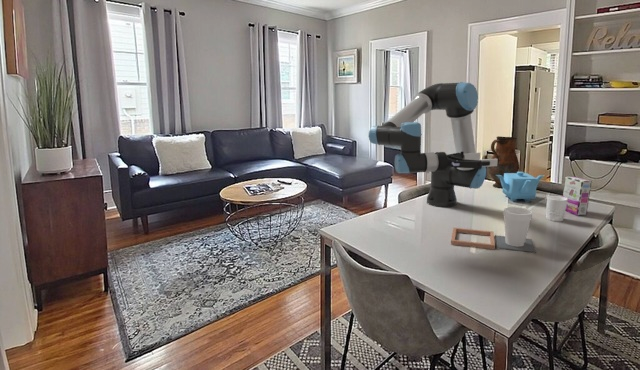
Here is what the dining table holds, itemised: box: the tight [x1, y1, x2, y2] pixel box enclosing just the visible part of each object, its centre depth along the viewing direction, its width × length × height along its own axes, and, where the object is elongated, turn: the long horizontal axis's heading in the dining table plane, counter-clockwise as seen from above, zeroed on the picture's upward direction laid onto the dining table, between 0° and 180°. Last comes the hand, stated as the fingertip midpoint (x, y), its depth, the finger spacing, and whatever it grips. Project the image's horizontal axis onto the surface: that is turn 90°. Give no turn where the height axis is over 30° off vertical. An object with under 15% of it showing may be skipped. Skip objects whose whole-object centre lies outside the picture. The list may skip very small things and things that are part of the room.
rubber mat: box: [494, 234, 537, 254], centre depth 147 cm, size 13×13×1 cm
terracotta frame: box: [450, 227, 496, 250], centre depth 153 cm, size 15×15×2 cm
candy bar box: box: [562, 175, 592, 217], centre depth 180 cm, size 11×5×16 cm, turn 5°
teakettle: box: [496, 171, 546, 202], centre depth 205 cm, size 19×19×15 cm
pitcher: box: [487, 136, 520, 189], centre depth 229 cm, size 17×21×30 cm
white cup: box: [545, 195, 568, 222], centre depth 172 cm, size 8×8×10 cm
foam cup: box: [503, 206, 533, 247], centre depth 145 cm, size 10×9×13 cm
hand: (488, 159), depth 151 cm, fingers open, 13 cm apart
